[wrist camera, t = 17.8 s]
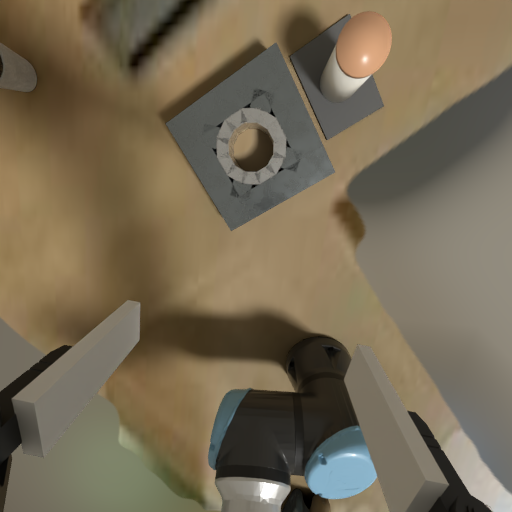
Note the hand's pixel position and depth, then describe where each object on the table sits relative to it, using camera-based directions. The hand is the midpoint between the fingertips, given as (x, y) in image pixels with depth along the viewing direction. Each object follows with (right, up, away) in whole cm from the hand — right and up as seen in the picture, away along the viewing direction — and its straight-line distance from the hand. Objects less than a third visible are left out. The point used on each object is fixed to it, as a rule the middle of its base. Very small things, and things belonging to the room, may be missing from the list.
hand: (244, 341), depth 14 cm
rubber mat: (+14, +33, +24) cm, 44 cm away
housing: (0, +24, +29) cm, 37 cm away
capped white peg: (+14, +33, +24) cm, 43 cm away
